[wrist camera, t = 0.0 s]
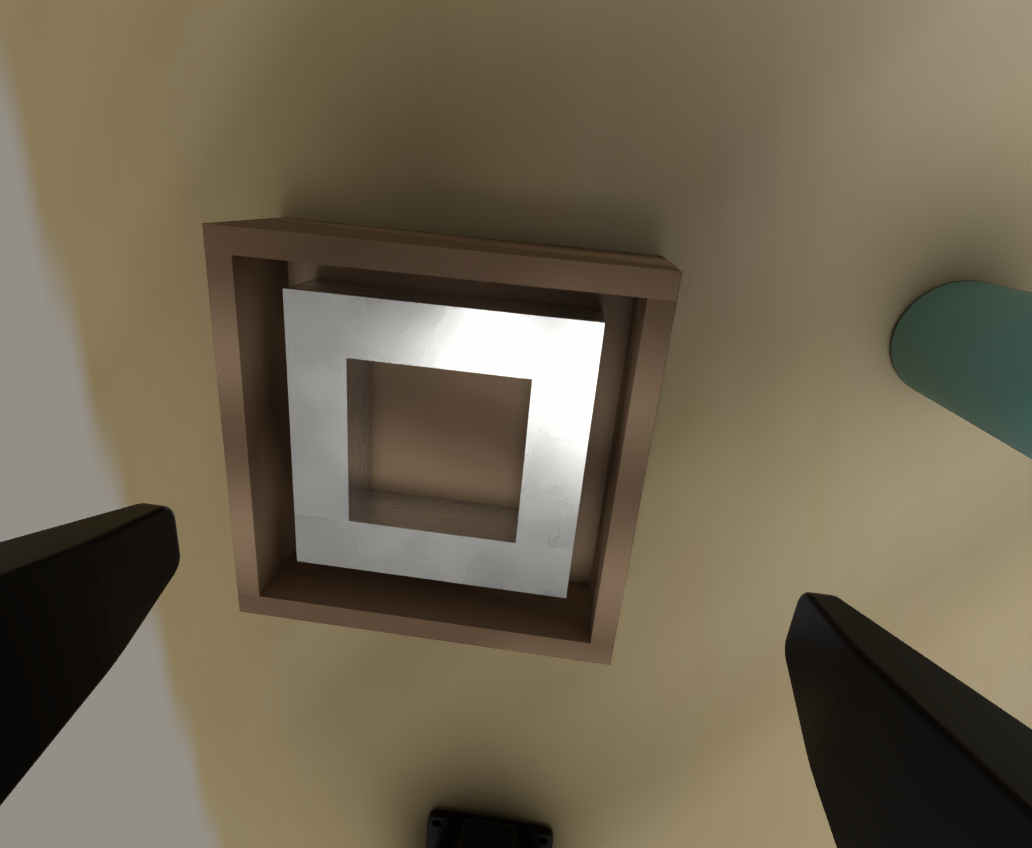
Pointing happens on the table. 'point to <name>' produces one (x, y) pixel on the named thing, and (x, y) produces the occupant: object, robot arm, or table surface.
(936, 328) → the peg
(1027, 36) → the table surface
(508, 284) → the tray
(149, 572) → the robot arm
